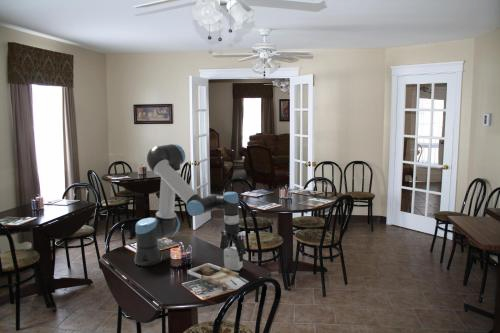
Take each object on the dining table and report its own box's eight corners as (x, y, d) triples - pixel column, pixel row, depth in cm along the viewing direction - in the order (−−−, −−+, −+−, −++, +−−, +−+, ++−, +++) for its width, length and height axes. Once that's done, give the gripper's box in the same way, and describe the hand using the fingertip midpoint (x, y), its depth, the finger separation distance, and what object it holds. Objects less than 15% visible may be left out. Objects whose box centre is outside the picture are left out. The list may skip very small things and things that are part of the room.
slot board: (201, 281, 211) (201, 275, 210) (222, 272, 221) (222, 267, 220) (217, 287, 202) (217, 282, 202) (238, 278, 212) (238, 273, 212)
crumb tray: (187, 275, 218) (186, 270, 218) (208, 267, 228) (207, 262, 228) (201, 281, 211) (201, 276, 210) (222, 272, 221) (222, 267, 220)
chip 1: (199, 271, 221) (199, 267, 221) (205, 269, 224) (205, 265, 224) (204, 273, 219) (204, 269, 218) (210, 271, 222) (210, 267, 221)
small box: (242, 266, 224) (241, 247, 222) (239, 270, 218) (238, 250, 217) (227, 265, 226) (227, 246, 224) (224, 269, 220) (223, 249, 219)
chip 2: (202, 274, 217) (202, 270, 217) (208, 272, 220) (208, 268, 220) (208, 276, 215) (207, 272, 214) (214, 274, 218) (213, 269, 217)
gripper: (211, 220, 223) (213, 262, 227) (242, 227, 208) (243, 272, 212) (222, 217, 229) (223, 258, 232) (252, 224, 214) (253, 267, 217)
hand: (233, 264), depth 222 cm, fingers closed on small box, 9 cm apart
